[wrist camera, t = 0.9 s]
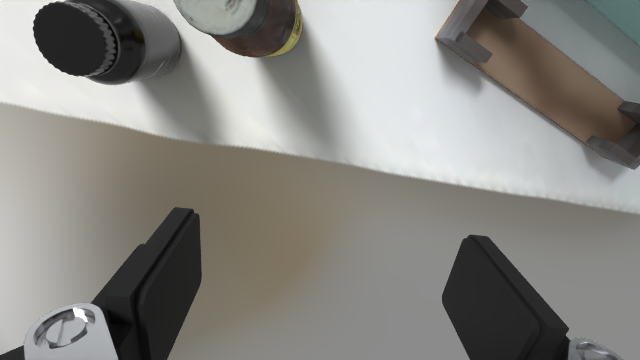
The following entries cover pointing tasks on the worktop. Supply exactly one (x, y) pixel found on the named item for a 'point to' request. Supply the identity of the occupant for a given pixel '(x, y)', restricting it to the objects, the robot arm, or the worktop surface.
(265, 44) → the sauce bottle
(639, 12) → the slat
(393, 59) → the worktop surface
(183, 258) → the robot arm
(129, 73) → the supplement bottle
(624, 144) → the endcap rail
